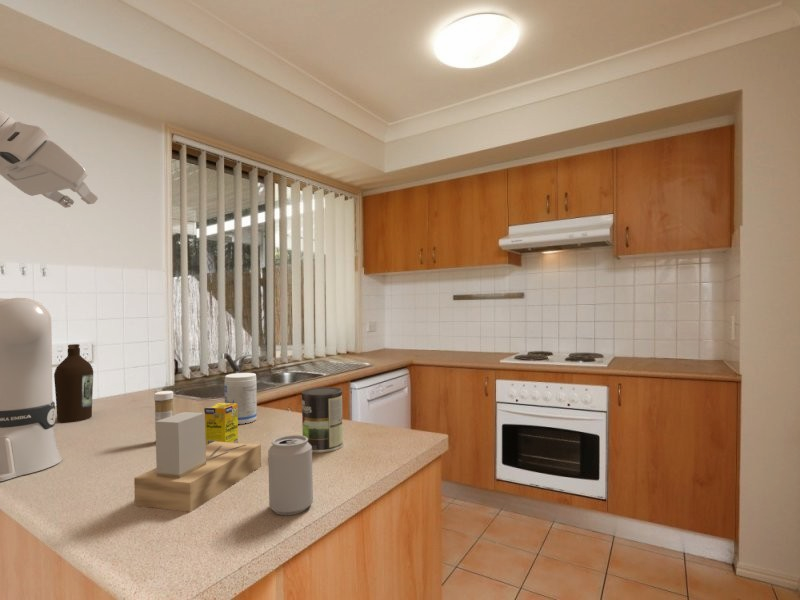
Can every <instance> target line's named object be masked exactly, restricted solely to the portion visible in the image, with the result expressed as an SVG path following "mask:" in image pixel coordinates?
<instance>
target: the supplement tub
mask: <svg viewBox="0 0 800 600" xmlns="http://www.w3.org/2000/svg"><path fill="white" fill-rule="evenodd" d="M257 384H258V383H257V374H256V373H254V372H238V373H236V372H235V373H229V374H226V375H225V376H224V403H237V404H238V424H240V425H246V424H245V423H247V424H249V423H250V422H251V423H253V422H255V421H256V420H257V418H258V417H257V415H258V413H257V412H258V409H257V408H258V400H257V396H258V395H257V392H258V391H257V389H258V388H257Z"/></svg>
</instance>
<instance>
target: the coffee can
mask: <svg viewBox="0 0 800 600" xmlns="http://www.w3.org/2000/svg"><path fill="white" fill-rule="evenodd" d="M300 393H301V394H300V395H301V415H302V416H301V418H302V419H301V421H302V424H301V425H302V436H305V437H307V438H308V441H307V442H308V443H309V444H310V445H311V446H312V454H313V453H316V454H323V453H331V452H334V451H337V450H339V449H341V448H343V446H344V442H343V441H344V440H343V438H344V437H343V435H344V434H343V430H344V429H343V389H342V388H340V387H335V386H333V387H332V386H321V387H312V388H307V389H304V390H302V391H301V392H300Z"/></svg>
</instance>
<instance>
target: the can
mask: <svg viewBox="0 0 800 600" xmlns="http://www.w3.org/2000/svg"><path fill="white" fill-rule="evenodd" d="M307 441H308V438H307V437H305V436H303V435H301V434H300V435H299V434H291V435H289V434H288V435H283V436H279V437H276V438H275V439H273V440H272V441H271V444H272V445H271V446H270V448H269V449H268V451H267V455H268V456H267V457H268V459H267V460H268V463H267V464H268V465H267V466H268V467H267V468H268V498H269V499H268V505H269V508H270V509H271V510H272V511H274V512H275V514H277V515H280V516H282V515H283V516H291V515H297V514H300V513H302V512H304V511H306V510H307V509H308V508H309V506H310V505H311V504H312V503H313V501H314V481H313V480H314V479H313V452H312V446H311V445H310V444H309V443H308V442H307Z"/></svg>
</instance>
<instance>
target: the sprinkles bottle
mask: <svg viewBox="0 0 800 600" xmlns="http://www.w3.org/2000/svg"><path fill="white" fill-rule="evenodd" d="M173 399H174V392H173V391H172V390H162V391H158V392H157V391H156V392H155V393H154V394H153V400H154V422H155V421H158V420H161V419H164V418H167V417H170V416H173V415H174V407H173V405H174V403H173V401H174V400H173ZM154 428H155V429H154V430H155V432H156V426H155V425H154ZM155 443H156V440H155Z"/></svg>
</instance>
